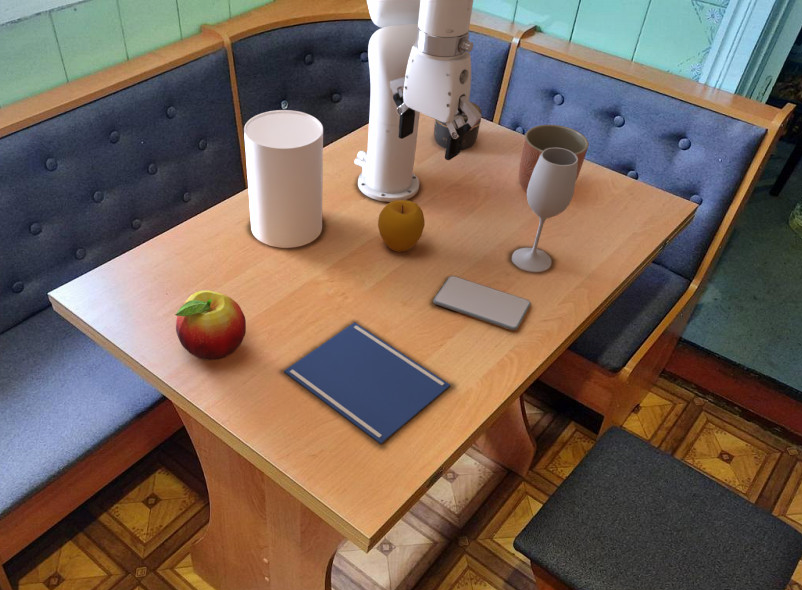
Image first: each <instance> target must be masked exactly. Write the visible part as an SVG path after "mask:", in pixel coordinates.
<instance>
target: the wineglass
mask: <svg viewBox="0 0 802 590" xmlns="http://www.w3.org/2000/svg"><path fill="white" fill-rule="evenodd" d="M577 167H578V157H577V156H576V154H574V153H573V152H571V151H569V150H567V149H563V148H548V149H545V150H544V151H543V152H542V153H541V155H540V157H539V159H538V161H537V163H536V166H535V168H534V170H533V173H532V176H531V178H530V181H529V184H528V189H527V191H526V200H527V204H528V207H530V210H531V211H532V213H534V214H535V215H536V216H537V217H538V219H539V222H538V223H539V224H538V227H537V230H536V234H535V238H534V242H533V245H532V247H521V248H517V249H516V250H514V251H513V253H512V255H511V261H512V264H514V265H515V266H516V267H517V268H518V269H520V270H522V271H525V272H528V273H543V272H545V271H548V270H549V269H550V268H551V266H552V262H553V261H552V258H551V257H550V255H549V254H547V252H545V251H543V250H541V249H538V245H539V242H540V239H541V234H542V231H543V227H544V224H545V222H546V220H548V219H551V218H554V217H556V216H558V215H560V214H562V213H563V212H565V210H566V209H567V208H568V207H569V205H570V204H571V202H572V200H573V197H574V193H575V188H576V182H577V180H576V176H577Z"/></svg>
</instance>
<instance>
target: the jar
mask: <svg viewBox="0 0 802 590" xmlns="http://www.w3.org/2000/svg"><path fill="white" fill-rule="evenodd" d="M470 102H471V103H472V105H473V106H474V107H475V108H476V109H477V110H478V111H479V113H480V114H481V116H482V114H483V113H482V108H481V107H480V106H479V105H478V104H476V103H474V102H472V101H470ZM462 117H463V119H464V121H465V124H466V122H467V120H468V117H467V115H462ZM454 122H455V124H456V127H457V129H458V126H457V123H456V121H455V120H454ZM481 122H482V118H481V119H480V121H479V122H478V123H477V124H476V125H475V127H474V128H473V129H472V130H470V131H468V132H467V133H465V134H464V135H463V141H462V147H461V151H467V150H469V149H470V148H472V147H473V146H474V145H475V144H476V142H477V139H478V136H479V132H480V126H481ZM433 135H434V141H435V142H436V144H437V145H438V146H439V147H441V148H442V149H445V150H446V146H447V139H448V137H449V136H451V133H450V131H449V129H448V127H447V124H446V123H444V122H441V121H438V120H436V119H434V129H433Z"/></svg>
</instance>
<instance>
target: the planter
mask: <svg viewBox="0 0 802 590" xmlns="http://www.w3.org/2000/svg"><path fill="white" fill-rule="evenodd" d="M589 144H590V143H589V140H588V139H587V137H586V136H585V135H584V134H583V133H581V132H580V131H578V130H576V129H574V128H571V127H568V126H564V125H559V124H541V125H540V124H539V125H536V126H534V127H531V128H529V129H528V130H527V131H526V132H525V134H524V139H523V145H522V150H521V155H520V161H519V167H518V168H519V169H518V181H519V185H520V186H521V187H522V188H523V190H524V191H525V192H527V189H528V184H529V181H530V178H531V176H532V173H533V170H534V168H535V166H536V163H537V161H538V159H539V157H540V155H541V153H542V152H543V151H544V150H545V149H548V148H563V149H567V150H569V151H571V152H573V153H574V154H576V156H577V157H578V167H577V176H576V181H578V178H579V175H580V172H581V170H582V167H583V164H584V161H585V158H586V156H587V151H588V149H589V146H590V145H589Z"/></svg>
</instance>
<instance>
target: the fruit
mask: <svg viewBox="0 0 802 590" xmlns="http://www.w3.org/2000/svg"><path fill="white" fill-rule="evenodd" d="M181 305H182V306H180V307H179V309H178V310H177V312H176V313H175V314H174V315H175V316H176V321H175V332H176V335H177V338H178V340H179V343H180V345H181V346H182V347H183V348H184V349H185V351H187V352H188V353H189V354H190V355H191V356H194V357H196V358H198V359H200V360H205V361H218V360H222V359H224V358H227V357H228V356H230V355H231V354H234V353H235V351H237V350H238V348H239V347H241V345H242V343H243V340H244V339H245V336H246V333H247V319H246V316H245V314H244V312H243V310H242V308H241V306H240V305H239V303H238V302H237V301H236V300H234V299H233V298H232V297H231V296H228V295H227V294H224V293H222V292H218V291H214V290H208V289H204V290H198V291H196V292H194V293H192V294H191V295H189V297H188V298H186V300H185V301H184V302H183V303H182V304H181Z"/></svg>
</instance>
